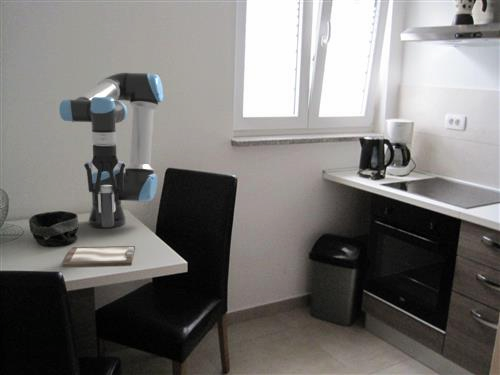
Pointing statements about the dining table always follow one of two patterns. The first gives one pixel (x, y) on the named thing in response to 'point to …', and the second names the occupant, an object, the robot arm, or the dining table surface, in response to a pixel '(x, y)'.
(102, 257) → the clipboard
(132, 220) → the dining table surface
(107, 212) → the marker
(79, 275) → the dining table surface
